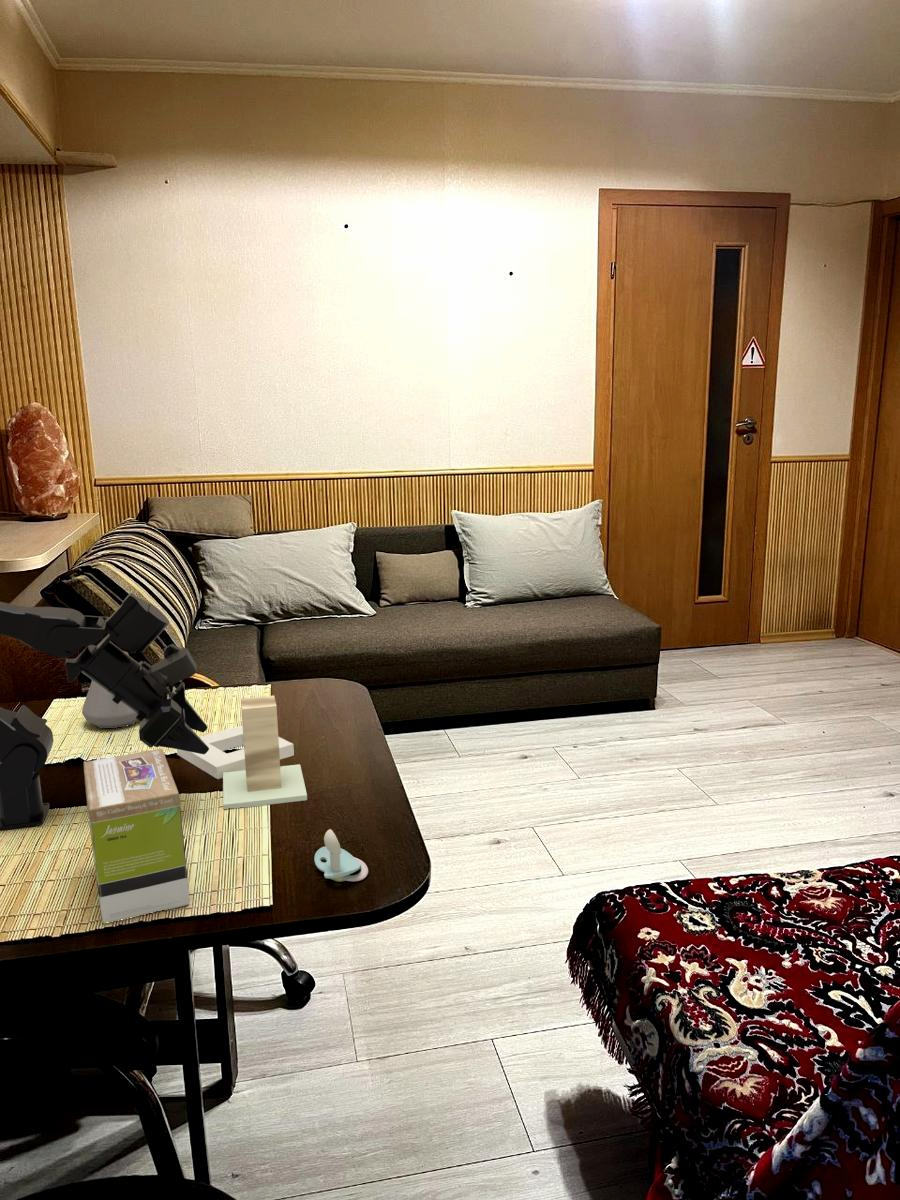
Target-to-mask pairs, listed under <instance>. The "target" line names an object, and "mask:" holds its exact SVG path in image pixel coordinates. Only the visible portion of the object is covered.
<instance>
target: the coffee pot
mask: <svg viewBox="0 0 900 1200" xmlns="http://www.w3.org/2000/svg"><path fill="white" fill-rule="evenodd" d="M123 651H124V650H123ZM124 652H125V653H126V654H128V655H129V654H130V653H128V652H126V651H124ZM129 656H130V655H129ZM112 698H113V695H111V694H110V693H109V692H107V691H106V690H105V689H103V688H102V687H101V686H99V685H98V684H97V683H95V682H94V681H93V680H91V683H90V685H89V688H88V691H87V693H86V697H85V700H84V703H83V706H82V710H81V711H82V712H81V714H82V716H83V718H84V719H85V720H86V721H87V722H89V723H90V724H93V725H94V726H95V725H96V726H97V727H96V726H95V727H96V728H98V727H99V728H98V729H102V728H116V729H118V728H117V727H122V728H124V727H123V726H126V727H128V726H127V725H130V724H132V725H134V724H136V723H137V722H138V721H139V720H138V719H137V718H135V717H136V713H135V712H134V711H133V710H131V709H130V708H129V707H127V706H126V705H125V704H123V703H122V702H121V701H120V702H119V703H118V704H117V703H115V702H114V701H113V700H112ZM137 720H138V721H137ZM135 722H136V723H135ZM133 723H134V724H133ZM130 726H131V725H130Z"/></svg>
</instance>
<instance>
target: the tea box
mask: <svg viewBox="0 0 900 1200" xmlns="http://www.w3.org/2000/svg"><path fill="white" fill-rule="evenodd" d="M83 774H84V786H85V795H86V796H85V797H86V805H87V806H86V807H87V814H88V825H89V832H90V839H91V848H92V856H93V862H94V872H95V879H96V886H97V893H98V898H99V904H100V905H99V906H100V912H101V919H102V920H101V921H102V923H103V924H105V923H106V922H112V921H117V920H121V919H126V918H130V917H133V916H136V915H143V914H147V913H151V912H156V911H161V910H165V911H168V909H169V910H172V909H176V908H177V909H178V908H181V907H184V906H187V905H189V904H190V903H191V902H190V900H191V899H190V890H189V887H190V886H189V879H188V870H187V860H186V859H187V858H186V848H185V841H184V829H183V819H182V808H181V807H182V806H181V801H180V795H179V794H180V793H179V790H178V787H177V784H176V782H175V780H174V777H173V775H172V771H171V768H170V766H169V763H168V761H167V758H166V755H165V753H164V750H163V747H162V748H157V749H152V750H146V751H141V752H134V753H129V754H125V755H124V754H123V755H117V756H112V757H107V758H101V759H96V760H94V759H93V760H89V761H86V760H85V761H83ZM161 912H162V911H161Z"/></svg>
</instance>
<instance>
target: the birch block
mask: <svg viewBox="0 0 900 1200" xmlns="http://www.w3.org/2000/svg"><path fill="white" fill-rule="evenodd" d="M277 707H278V706H277V702H276V698H275V695H266V696H257V697H254V696H253V697H245V698H244V697H243V698H240V708H241V709H240V710H241V722H242V724H241V725H243V739H244V746H243V749H244V754H245V768H246V782H247V792H253V791H262V790H270V789H279V788H281V772H280V766H281V760H280V755H279V738H278V737H279V726H278V725H279V724H278V708H277Z"/></svg>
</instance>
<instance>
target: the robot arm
mask: <svg viewBox="0 0 900 1200" xmlns="http://www.w3.org/2000/svg"><path fill="white" fill-rule="evenodd" d="M169 625H170V620H169V619H168V617H167V616H166V615H165V614H164V613H163V612H162V611H161V610H160V609H159V608H158V607H156V605H154V604H153V603H151V602H150V603H149V602H148V601H147V600H144V599H143V598H141V597H138V596H136V595H135V594H134V593H132V592H131V593H129V594H128V595H127V596H126V597H125V598H124V600H123V602H122V603H121V604H120V606H119V607H118V608H117V609H116V610H115V611H114V612H113V613H112V614H111V615H110V616H96V615H84V614H83V613H82V612H81V611H79V610H76V609H74V608H69V607H68V608H67V607H56V606H55V607H54V606H21V605H15V604H12V603H9V602H3V601H0V635H3V636H6V637H10V638H12V639H15V640H18V641H20V642H21V643H23V644H25V645H26V646H28V647H29V648H31V649H33V650H36V651H37V652H38V651H39V652H41V653H44V654H46V655H48V656H51V657H54V658H56V659H57V658H58V659H66V660H65V663H64V666H65V669H66V676H67V677H66V680H67V682H68V683H73V682H74V680H75V679H76V678H77V677H78V676H79V675H80V674H81V673H82V674H83V675H85V676H86V677H87V678H89V679H90V680H91V681H92V680H93V681H94V682H95V683H97V684H98V685H99V686H101V687H102V688H103V689H105V690H106V691H107V692H109V693H110V694H111V695H113V698H112V700H113V701H114V702H115V703H117V704H118V703H119V702H120V701H121V702H122V703H123V704H125V705H126V706H127V707H129V708H130V709H131V710H133V711H134V712H135V713H136V717H135V718H137V719H138V721H139V729H138V736H139V741H141V742H142V743H143V744H144V745H146V746H147V747H149V748H150V749H151V748H153V747H155V748H159V747H162V748H167V749H168V748H169V749H174V750H177V749H179V750H184V751H189V752H194V753H199V754H206V753H207V752H208V751H209V747H208V746H207V745H206V744H205V743H204V742H203V741H202V740H201V739H200V737H201V736H199V735H198V734H197V733H196V732H199V733H205V732H206V731H207V730H208V725H207V724H206V723H205V721H204V720H203V719H202V717H201V716H200V715H199V714H198V712H197V711H196V710H195V709H194V707H193V706H192V705H191V703H190V702H189V701H188V699H187V698H186V691H185V682H184V681H183V680H185V679H187V678H188V679H189V678H191V677H193V676H195V675H196V674H197V673H198V669H197V666H198V665H197V663H196V662H195V660H194V658H193V656H192V655H191V652H190V651H189V649H187V647H185V646H183V647H179V646H178V645H176V644H174V643H171V644H170V645H167V646H165V647H164V648H163V658H160V659H159V660H158V662H155V663H154V664H152V665H151V664H150V663H148V662H147V661H145V660H144V661H143V660H141V661H139V662H138V661H137V660H135V659H134V658H133V657H132V656H130V655H128V654H135V653H136V652H139V653H144V652H145V651H146V650H147V648H149V646H150V645H151V644H152V643H154V641H155V640H156V639H157V637H159V636H160V635H161V634H162V632H163V631H164V630H165V629H166V628H167V627H168V626H169ZM103 637H104V638H103ZM113 642H114V643H115V644H114V643H113ZM84 647H85V648H84ZM82 648H84V649H83V650H82V652H80V650H81V649H82ZM124 651H125V652H127V653H128V654H126V653H125V652H124ZM78 652H80V654H79V655H78V656H77V657H75V658H70V657H72V656H74V655H76V654H77V653H78ZM176 685H177V687H175V686H176ZM47 722H48V719H45V718H42V717H40V716H38V715H36V713H34V712H33V711H32V710H31V709H30V708H29V707H28V706H26V705H25V704H22V705H21V706H20V708H19V709H18V710H17V711H14V710H10V709H7V708H4V707H1V706H0V830H7V829H14V828H23V827H22V826H25V827H32V826H33V825H34V826H39V825H42V824H43V823H44V821H45V819H46V816H47V814H48V812H49V809H50V802H45V803H43V798H42V797H43V795H42V788H41V779H40V774H39V772H38V771H40V770H41V769H42V768H43V767H44V765H46V762H47V761H48V758H49V755H50V753H51V751H52V748H53V745H54V744H53V743H54V735H53V731H52V729H51V727H49V726H48V725H47ZM195 731H196V732H195ZM31 825H32V826H31Z"/></svg>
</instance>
